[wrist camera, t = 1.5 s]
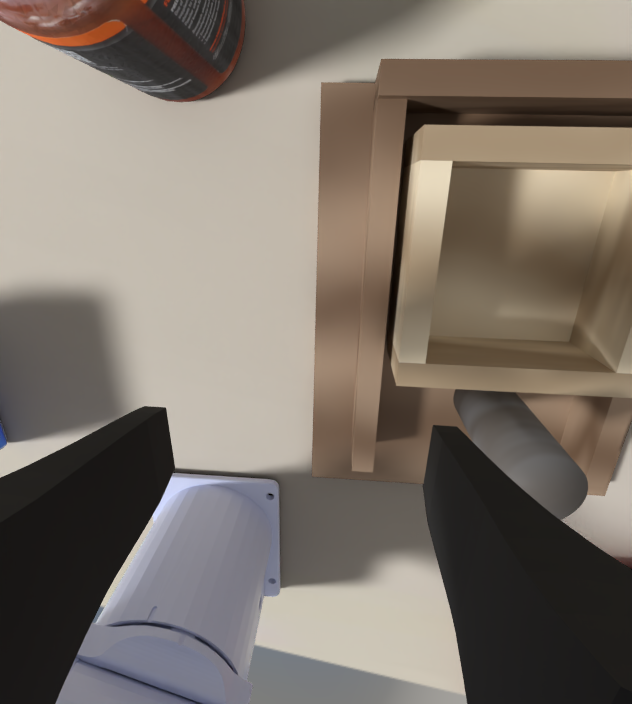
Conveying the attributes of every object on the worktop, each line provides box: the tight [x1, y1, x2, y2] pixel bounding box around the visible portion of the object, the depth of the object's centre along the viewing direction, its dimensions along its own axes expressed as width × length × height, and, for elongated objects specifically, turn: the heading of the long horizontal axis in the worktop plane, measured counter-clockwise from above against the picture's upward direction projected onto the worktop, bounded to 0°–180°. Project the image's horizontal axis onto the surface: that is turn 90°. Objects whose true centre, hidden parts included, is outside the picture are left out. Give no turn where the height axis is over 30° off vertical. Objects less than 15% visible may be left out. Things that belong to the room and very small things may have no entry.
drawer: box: [387, 125, 632, 520], centre depth 15 cm, size 12×9×8 cm
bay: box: [312, 59, 632, 496], centre depth 18 cm, size 19×16×4 cm
